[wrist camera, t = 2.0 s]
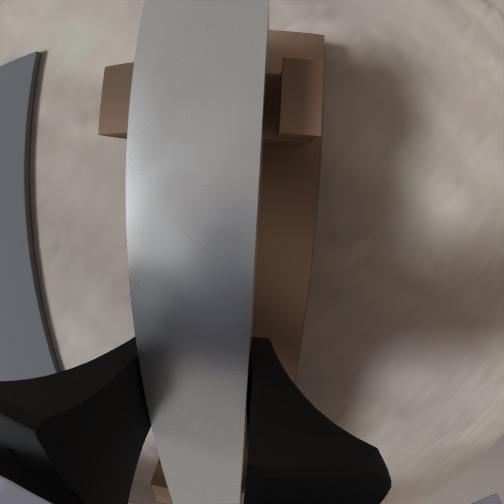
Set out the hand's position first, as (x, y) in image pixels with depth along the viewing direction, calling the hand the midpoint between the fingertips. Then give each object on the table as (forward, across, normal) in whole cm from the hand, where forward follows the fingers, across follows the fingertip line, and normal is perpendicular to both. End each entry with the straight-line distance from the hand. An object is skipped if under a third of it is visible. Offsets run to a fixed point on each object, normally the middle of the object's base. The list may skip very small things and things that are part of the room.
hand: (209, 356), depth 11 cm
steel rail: (0, 0, 0) cm, 0 cm away
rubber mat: (+3, +15, +1) cm, 15 cm away
